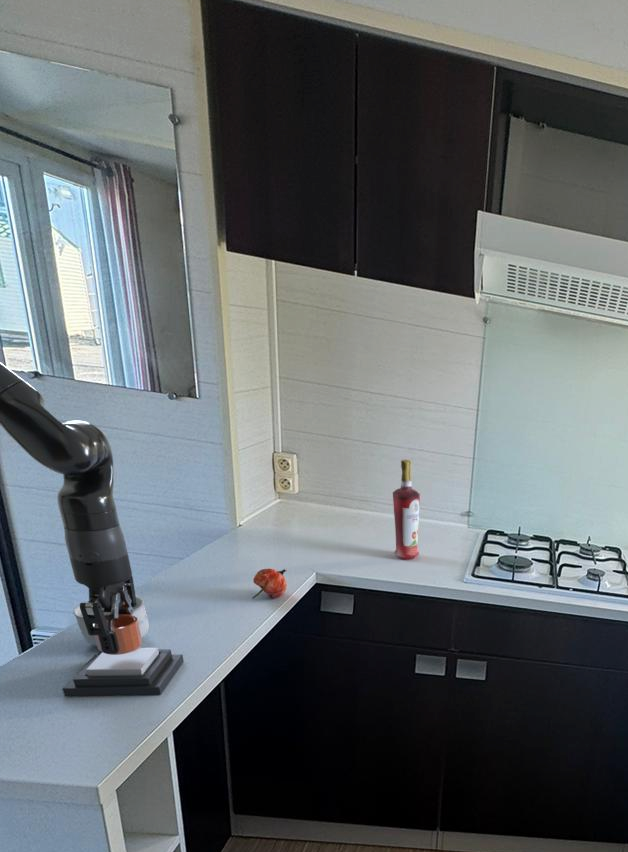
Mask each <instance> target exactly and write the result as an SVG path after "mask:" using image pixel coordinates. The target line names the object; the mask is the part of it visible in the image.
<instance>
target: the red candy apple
mask: <svg viewBox="0 0 628 852" xmlns="http://www.w3.org/2000/svg"><path fill="white" fill-rule="evenodd" d="M286 572H287V569H286V568H284V569H282V570H276V569H273V568H263V569H259V571H257V573H256V574H255V575H254V577H253V579H252V580H253V581H252V582H253V583H254V584H255V585H256V586H258V587H259V588H260V591H258V592H257V593H256V594H254V596H252V597H251V600H254V599H255V598H256V597H257V596H259V595H260V594H261V593H262V592H264V593H265V594H266V595H268V596H269V597H270V598H271V599H278V598H280V597H281V596H283V595H284V594H285V593H286V590H287V587H288V582H287V580H286V578H285V576H284V574H285V573H286Z"/></svg>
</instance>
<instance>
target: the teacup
mask: <svg viewBox="0 0 628 852" xmlns="http://www.w3.org/2000/svg"><path fill="white" fill-rule="evenodd" d="M135 595H136V602H137V606H136V607H133V610H134V612H133V614H132V615H133V616H135V617H137V619H138V624H139V628H140V633H141V638H142V639H143V638H144V637H145V636H146V635H147V633H148V632H149V627H150V625H149V618H148V615H147V611H146V608H145V601H144V599H142V598H141V597H138V595H137V594H136V593H135ZM129 597H130V596H129ZM88 601H89V600H87V601H85V602H84V603H87V602H88ZM110 614H111V612H104V615H110ZM73 615H74V616H75V618H76V621H77V624H78V627H79V630H80V632H81V634H82V636H83V638H84V640H85V641H86V642H87V643H88V644H90V645H93V646H95V647H98V646H97V642H96V638H95V635H89V634H88V631H87V628H86V625H85V622H84V619H83V616H82V613H81V610H80V604H79V605H77V606H76V607H75V608H74V609H73Z"/></svg>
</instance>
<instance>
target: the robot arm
mask: <svg viewBox="0 0 628 852" xmlns="http://www.w3.org/2000/svg"><path fill="white" fill-rule="evenodd" d="M44 405H45V400H44V397H43V396H42V394H41V393H40V392H39V391H38V390H37V389H36V388H35V387H33V386H32V385H31V384H30V383H28V382H27V381H26V380H25V379H23V378H21V377H20V376H19V375H18V374H16V373H15V372H14V371H12V370H11V369H9V367H7V366H6V365H4V364H3V363H2V362H0V426H1V428H3V430H4V431H5V432H6V434H7V435H9V437H11V438H12V439H13V440H14V441H15V442H16V444H18V446H20V448H22V450H23V451H25V452H26V453H27V454H28V455H29V456H30V457H31V458H33V460H35V461H36V462H37V463H39V464H40V465H42V466H43V467H45V468H46V469H48V470H50V471H52V472H55V473H57V474H60V475H63V476H62V477H63V484H62V486H61V488H60V490H59V491H58V492H57V496H56V499H57V505H58V510H59V514H60V518H61V522H62V526H63V530H64V541H65V546H66V549H67V553H68V557H69V562H70V565H71V569H72V572H73V576H74V580H75V582H77V584H80V585H83V586H85V587H87V588H88V600H87V601H88V602H87V601H86V602H87V603H85V602H80V603H79V605H80V610H81V613H82V616H83V619H84V622H85V625H86V628H87V631H88V634H89V635H98V636H99V640H100V644H101V648H102V651H103V653H106V654H115V653H117V652H118V651H119V645H118V641H117V637H116V633H115V620H117V619H118V614H128V615H132V614H133V612H134V610H133V607H136V606H137V602H136V596H137V594H136V590H135V583H134V576H133V572H132V567H131V561H130V558H129V554H128V548H127V544H126V540H125V535H124V532H123V530H122V528H121V525H120V520H119V516H118V511H117V510H118V509H117V506H116V502H115V499H114V482H115V481H114V457H113V451H112V447H111V445H110V442H109V440H108V438H107V437H106V435H105V434H104V433H103V431H101V429H99V428H98V427H97V426H95V425H94V424H92V423H89V422H88V421H84V420H68V421H65V422H61V421H60V420H59V419H57V418H56V417H55V416H53V414H52V413H51V412H50V411H48V410H47V409H46V407H44ZM135 594H136V595H135ZM129 596H130V597H129ZM104 612H111V614H110V615H104ZM106 620H108V625H107V622H106ZM93 624H94V625H93Z"/></svg>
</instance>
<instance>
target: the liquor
mask: <svg viewBox="0 0 628 852" xmlns="http://www.w3.org/2000/svg"><path fill="white" fill-rule="evenodd" d="M400 468H401V481H400V487H399V488H397V489H395V490H394V491H393V492H392V504H393V506H392V507H393V518H394V532H395V534H394V535H395V551H394V554H395V556H396V557H398V558H399V559H400V560H406V561H409V560H413V559H415V558H416V557H417V556H419V554H420V552H419V550H418V539H419V538H418V537H419V518H420V502H421V501H420V500H421V499H420V498H421V494H420V493H419V491H417V490H416V489H413V485H412V476H411V469H412V460H409V459H401V460H400Z"/></svg>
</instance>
